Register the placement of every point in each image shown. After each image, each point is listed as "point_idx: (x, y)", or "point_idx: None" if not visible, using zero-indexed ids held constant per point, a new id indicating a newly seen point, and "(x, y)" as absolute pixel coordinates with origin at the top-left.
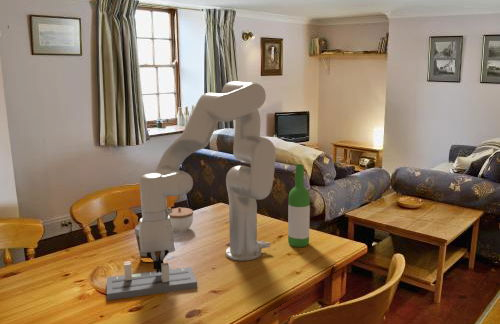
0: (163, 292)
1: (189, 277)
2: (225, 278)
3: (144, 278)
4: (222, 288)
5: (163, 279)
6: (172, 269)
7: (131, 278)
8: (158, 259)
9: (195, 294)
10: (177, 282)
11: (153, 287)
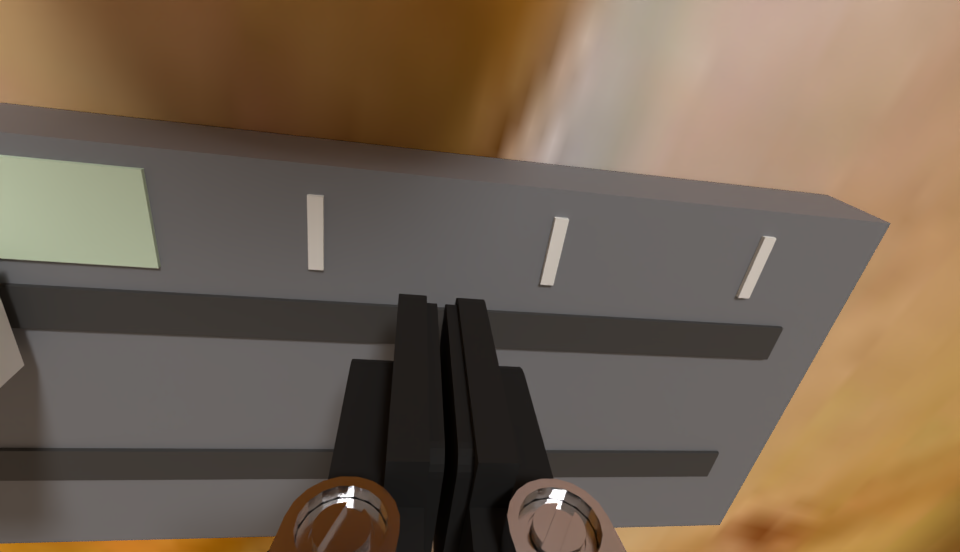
0: None
1: (709, 456)
2: (956, 403)
3: (222, 337)
4: (824, 513)
5: None
6: (651, 211)
7: (2, 380)
8: (446, 544)
9: (631, 539)
10: None
11: None
